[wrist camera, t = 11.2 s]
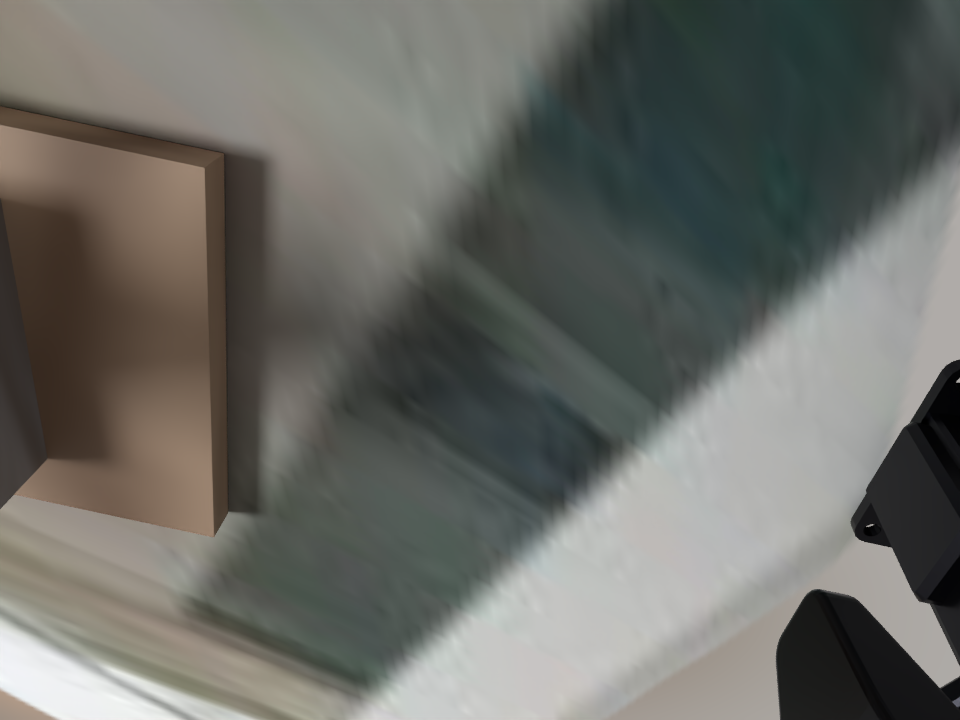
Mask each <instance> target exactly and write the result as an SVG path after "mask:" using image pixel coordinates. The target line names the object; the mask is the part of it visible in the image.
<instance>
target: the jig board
mask: <svg viewBox="0 0 960 720" xmlns="http://www.w3.org/2000/svg"><path fill="white" fill-rule="evenodd" d="M13 495H19V496H24V497H28V498H33V499H38V500H42V501H47V502H52V503H56V504H61V505H66V506H70V507H75V508H80V509H84V510H89V511H94V512H98V513H103V514H108V515H112V516H117V517H121V518H126V519H131V520H135V521H140V522H145V523H149V524H154V525H159V526H163V527H168V528H173V529H177V530H182V531H187V532H191V533H196V534H201V535H205V536H210V537H214V536H215V535H216V533H217V531H218V529H219V528H220V526H221V524H222V522H223V521H224V519H225V517H226V515H227V514H228V462H227V370H226V278H225V186H224V153H220V152H215V151H210V150H205V149H201V148H196V147H191V146H186V145H182V144H177V143H172V142H167V141H163V140H158V139H153V138H148V137H144V136H139V135H134V134H129V133H125V132H120V131H115V130H110V129H106V128H101V127H96V126H91V125H87V124H82V123H77V122H72V121H68V120H63V119H58V118H54V117H49V116H44V115H39V114H35V113H30V112H25V111H20V110H16V109H11V108H6V107H1V106H0V509H1V508H2V507H3V506H4V504H5V503H6V502H7V501H8V500H9V499H10V498H11V497H12V496H13Z"/></svg>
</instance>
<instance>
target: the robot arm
mask: <svg viewBox="0 0 960 720" xmlns="http://www.w3.org/2000/svg"><path fill="white" fill-rule="evenodd" d="M959 378H960V360H956V361H953V362H951V363H950V364H948V365H947V366H945V368H944V369H943V370H942V371H941V373H940V374H939V376H938V378H937V379H936V381H935V382H934V384H933V386H932V387H931V389H930V391H929V392H928V394H927V395H926V397H925V399H924V401H923V402H922V404H921V405H920V407H919V409H918V410H917V412H916V414H915V415H914V417H913V418H912V420H911V422H910V423H909V424H908V425H907V426H905V427H904V428H903V429H902V431H901V433H900V434H899V436H898V438H897V439H896V441H895V443H894V444H893V446H892V448H891V449H890V451H889V453H888V454H887V456H886V457H885V459H884V461H883V462H882V464H881V466H880V467H879V469H878V471H877V472H876V474H875V476H874V477H873V479H872V481H871V482H870V484H869V485H868V487H867V489H866V492H867V494H866V495H865V497H864V499H863V500H862V502H861V504H860V505H859V507H858V509H857V510H856V512H855V513H854V515H853V517H852V519H851V526H852V529H853V531H854V533H855V536H856V537H857V538H858V539H859V540H862V541H864V542H868V543H873V544H878V545H882V546H887V547H892V548H893V551H894V553H895V555H896V557H897V559H898V561H899V563H900V566H901V568H902V570H903V572H904V574H905V576H906V579H907V581H908V583H909V585H910V587H911V589H912V591H913V593H914V595H915V596H916V598H917V599H918V601H920V602H925V603H929V604H930V605H931V607H932V609H933V611H934V613H935V615H936V618H937V620H938V622H939V624H940V626H941V628H942V630H943V632H944V634H945V636H946V638H947V640H948V642H949V644H950V647H951V649H952V651H953V653H954V655H955V657H956V659H957V661H958V663H959V665H960V383H956V381H957V380H958V379H959ZM870 524H874V525H873V526H870V527H866V526H867V525H870ZM776 669H777V683H778V697H779V709H780V720H960V676H959V677H958V678H956V679H954V680H953V681H951V682H949V683H948V684H946V685H944V686H943V687H941V688H939V687H938V686H937V685H936V684H935V683H934V681H933V680H932V679H931V678H930V677H929V676H928V675H927V674H926V673H925V672H924V671H923V670H922V669H921V667H920V666H919V665H918V664H917V663H916V662H915V661H914V660H913V659H912V658H911V657H910V656H909V654H908V653H907V652H906V651H905V650H904V649H903V648H902V647H901V646H900V645H899V644H898V643H897V642H896V640H895V639H894V638H893V637H892V636H891V635H890V634H889V633H888V632H887V631H886V630H885V628H883V626H882V625H881V624H880V623H879V622H878V621H877V620H876V619H875V618H874V617H873V616H872V615H871V613H870V612H869V611H868V610H867V609H866V608H865V607H864V606H863V605H862V604H861V603H860V602H859V601H858V600H857V599H855V598H854V597H851V596H849V595H845V594H840V593H836V592H831V591H826V590H821V589H815V590H812V591H810V592H809V593H807V595H806V596H805V597H804V599H803V600H802V602H801V604H800V605H799V607H798V609H797V610H796V612H795V613H794V615H793V617H792V618H791V620H790V622H789V623H788V625H787V627H786V629H785V630H784V632H783V633H782V635H781V637H780V639H779V642H778V645H777V651H776Z"/></svg>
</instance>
